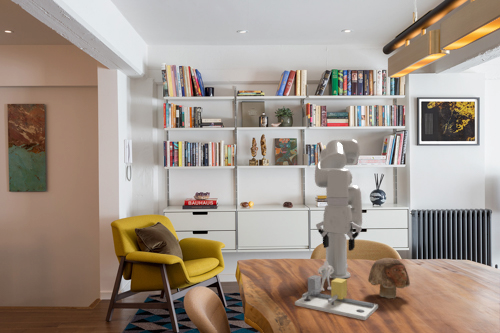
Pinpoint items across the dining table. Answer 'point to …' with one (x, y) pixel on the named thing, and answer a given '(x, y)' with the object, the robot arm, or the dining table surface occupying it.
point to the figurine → (325, 274)
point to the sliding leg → (338, 290)
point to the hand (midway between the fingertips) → (338, 248)
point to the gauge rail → (315, 290)
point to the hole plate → (337, 307)
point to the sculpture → (389, 276)
